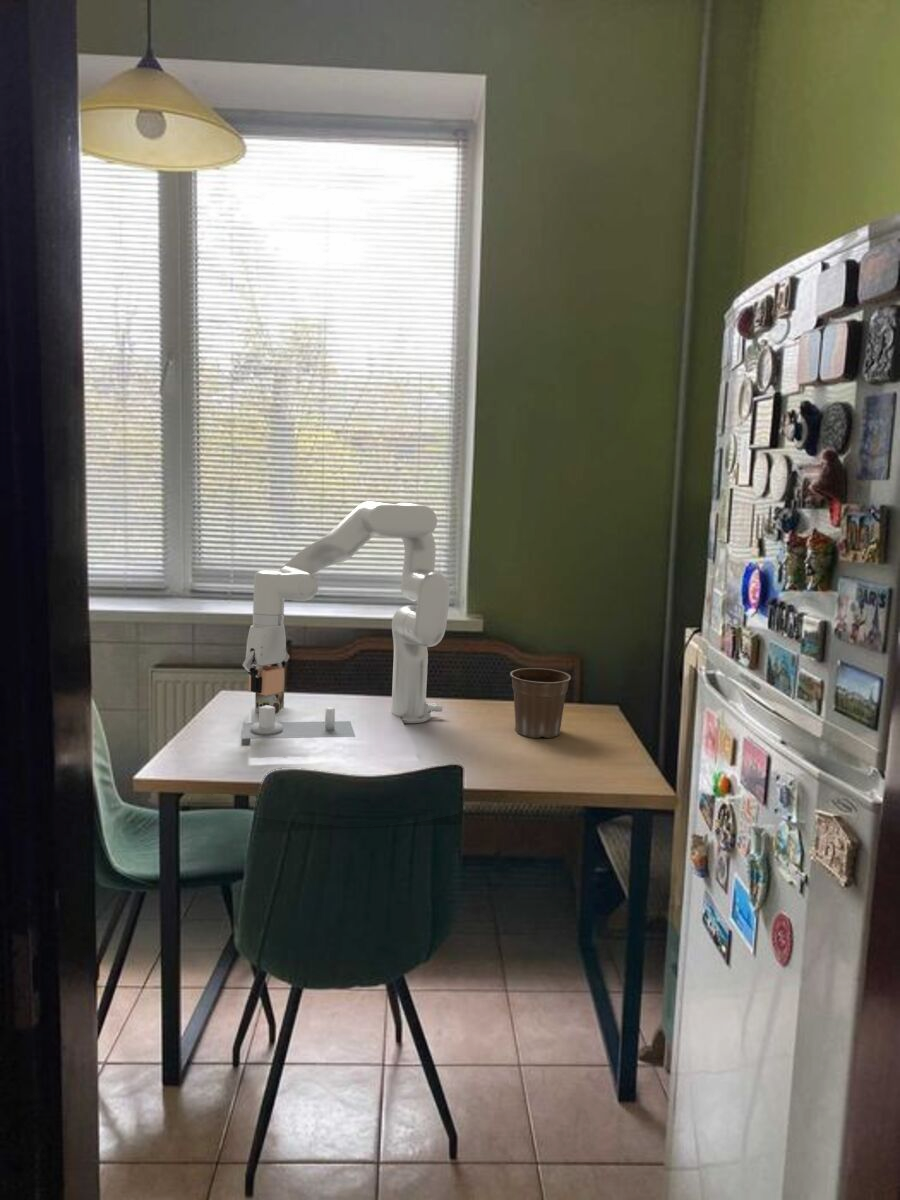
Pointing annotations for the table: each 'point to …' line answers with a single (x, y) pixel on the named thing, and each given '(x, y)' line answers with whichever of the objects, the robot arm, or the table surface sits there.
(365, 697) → the table surface
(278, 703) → the coffee box
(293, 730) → the hub board
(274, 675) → the collar
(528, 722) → the plant pot
